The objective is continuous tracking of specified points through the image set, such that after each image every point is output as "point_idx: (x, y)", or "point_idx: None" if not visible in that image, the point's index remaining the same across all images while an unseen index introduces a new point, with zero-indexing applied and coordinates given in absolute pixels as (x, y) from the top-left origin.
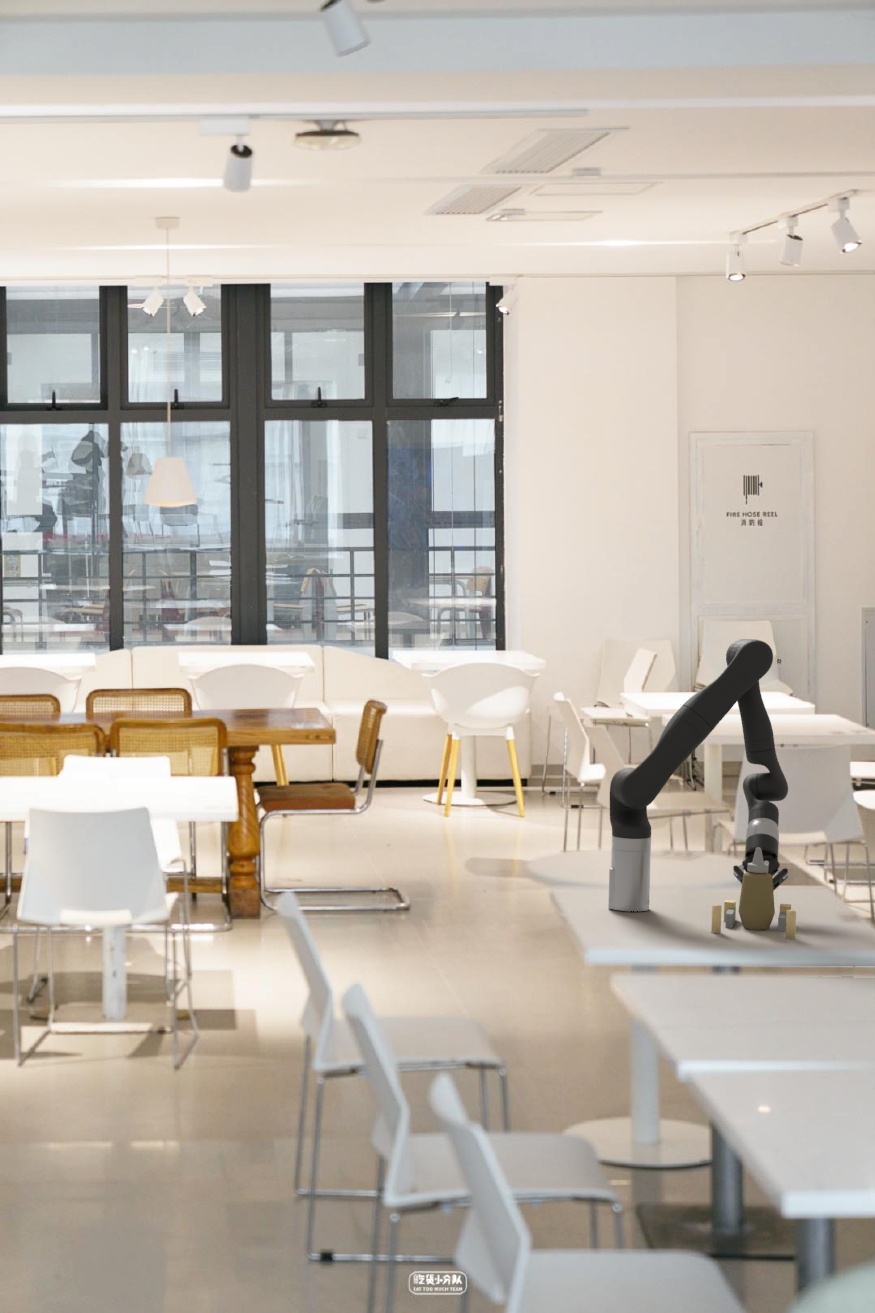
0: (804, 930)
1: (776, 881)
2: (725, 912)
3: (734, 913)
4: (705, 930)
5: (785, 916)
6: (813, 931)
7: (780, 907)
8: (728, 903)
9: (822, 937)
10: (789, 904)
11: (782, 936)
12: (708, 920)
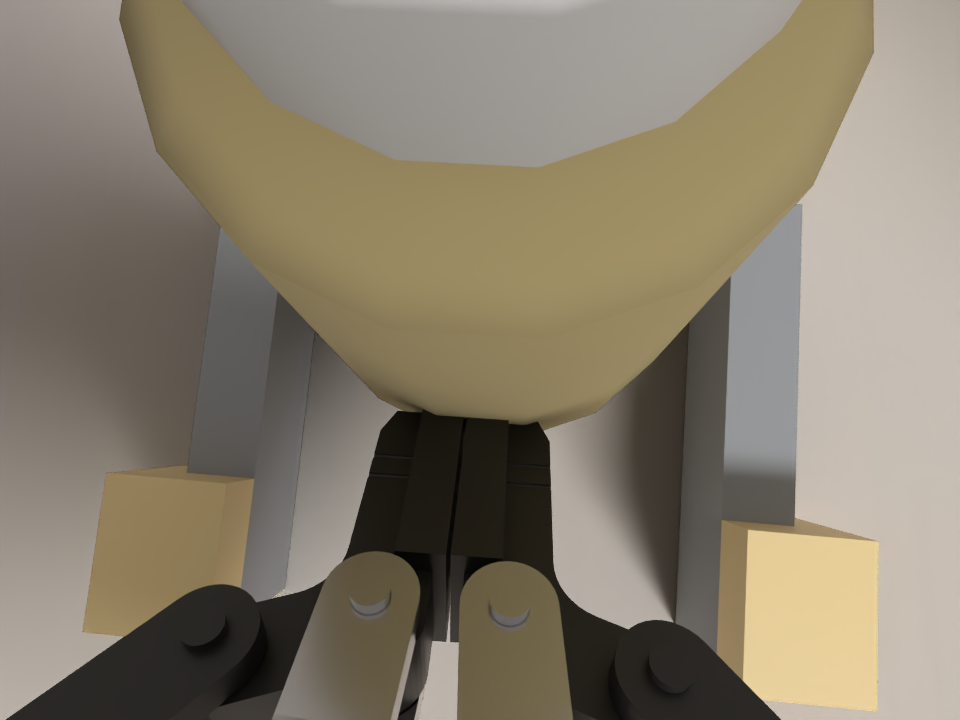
0: (111, 320)
1: (83, 671)
2: (800, 522)
3: (709, 479)
4: (899, 76)
5: (217, 252)
6: (45, 301)
7: (225, 483)
8: (820, 535)
9: (11, 89)
10: (102, 619)
11: None
12: (912, 519)
